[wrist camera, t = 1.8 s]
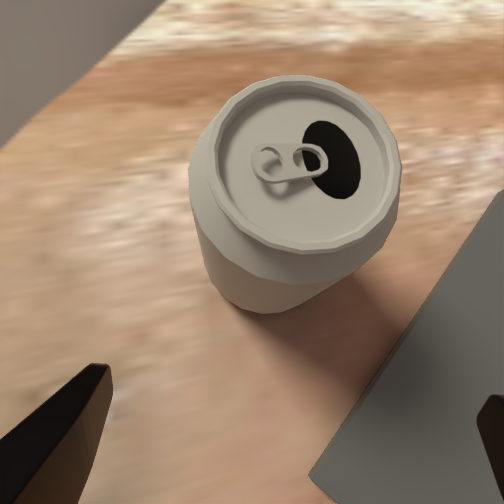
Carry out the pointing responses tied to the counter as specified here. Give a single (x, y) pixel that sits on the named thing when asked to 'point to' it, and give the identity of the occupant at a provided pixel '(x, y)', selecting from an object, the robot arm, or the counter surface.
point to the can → (292, 190)
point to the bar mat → (431, 392)
